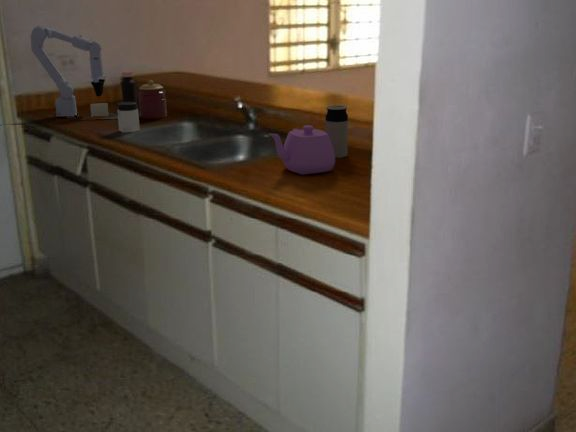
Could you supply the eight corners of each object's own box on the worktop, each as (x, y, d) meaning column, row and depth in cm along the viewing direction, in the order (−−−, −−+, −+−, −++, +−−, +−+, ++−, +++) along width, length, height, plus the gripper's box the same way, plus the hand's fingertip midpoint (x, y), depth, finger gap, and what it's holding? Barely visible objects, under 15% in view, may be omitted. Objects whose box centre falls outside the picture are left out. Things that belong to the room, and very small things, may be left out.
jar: (117, 130, 298) (114, 102, 294) (135, 127, 302) (132, 101, 298) (123, 133, 291) (121, 105, 287) (141, 131, 295) (139, 103, 291)
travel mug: (349, 157, 244) (350, 108, 238) (327, 158, 243) (328, 108, 237) (344, 152, 252) (345, 104, 246) (323, 153, 251) (323, 105, 245)
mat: (80, 120, 320) (80, 119, 320) (84, 115, 334) (84, 114, 333) (119, 119, 323) (119, 118, 323) (122, 113, 336) (121, 113, 336)
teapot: (314, 159, 243) (314, 117, 238) (342, 173, 225) (342, 128, 220) (255, 166, 235) (253, 123, 230) (278, 181, 216) (278, 135, 211)
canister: (152, 120, 318) (149, 82, 312) (134, 117, 326) (130, 80, 320) (172, 116, 328) (170, 79, 322) (154, 113, 335) (151, 77, 330)
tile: (108, 116, 329) (107, 103, 327) (91, 116, 328) (90, 104, 326) (108, 115, 330) (107, 103, 328) (91, 116, 329) (90, 103, 327)
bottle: (121, 113, 337) (117, 72, 331) (128, 111, 343) (124, 71, 337) (133, 114, 335) (129, 73, 329) (140, 111, 341) (136, 71, 335)
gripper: (103, 68, 322) (106, 97, 326) (106, 65, 335) (109, 92, 340) (88, 69, 321) (91, 97, 325) (92, 65, 335) (95, 93, 339)
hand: (99, 95), depth 333 cm, fingers open, 5 cm apart
